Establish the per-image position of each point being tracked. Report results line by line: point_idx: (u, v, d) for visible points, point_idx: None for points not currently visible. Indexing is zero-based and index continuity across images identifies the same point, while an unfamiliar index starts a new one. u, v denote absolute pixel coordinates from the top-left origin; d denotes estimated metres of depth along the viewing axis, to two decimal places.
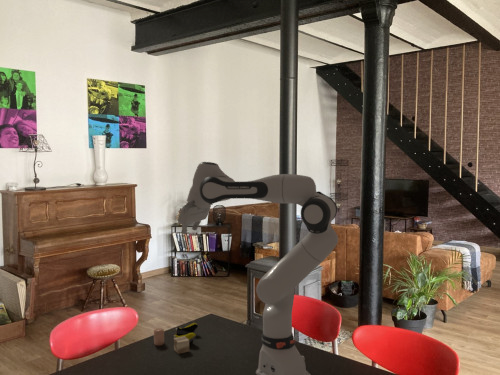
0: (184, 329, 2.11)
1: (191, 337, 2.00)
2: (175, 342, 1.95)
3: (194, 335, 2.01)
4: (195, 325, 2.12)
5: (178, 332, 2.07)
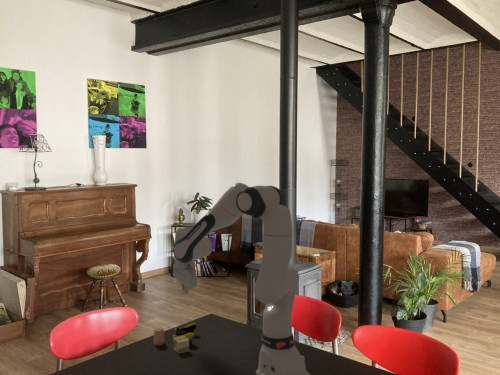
0: (183, 329, 2.11)
1: (190, 337, 2.00)
2: (175, 342, 1.95)
3: (193, 335, 2.01)
4: (194, 325, 2.12)
5: (177, 332, 2.07)
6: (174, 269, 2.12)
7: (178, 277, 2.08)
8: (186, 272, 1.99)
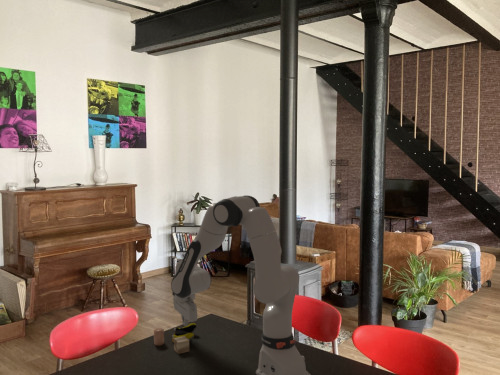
0: (183, 329, 2.11)
1: (189, 337, 2.00)
2: (175, 342, 1.95)
3: (192, 335, 2.01)
4: (194, 325, 2.12)
5: (176, 332, 2.07)
6: (174, 300, 2.13)
7: (178, 309, 2.09)
8: (186, 305, 2.00)
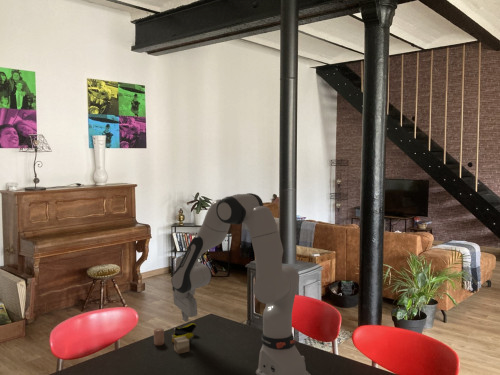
0: (182, 329, 2.11)
1: (189, 337, 2.00)
2: (175, 342, 1.95)
3: (192, 335, 2.01)
4: (193, 325, 2.12)
5: (176, 332, 2.07)
6: (174, 296, 2.13)
7: (178, 304, 2.09)
8: (186, 301, 2.00)
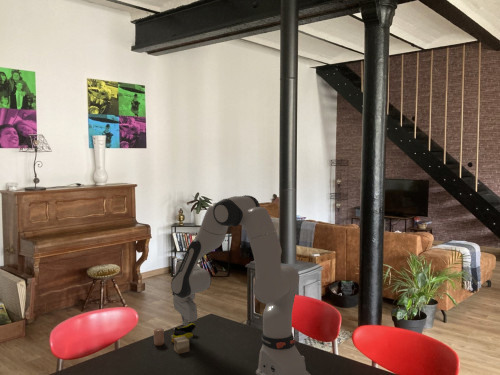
0: (182, 329, 2.12)
1: (188, 337, 2.00)
2: (175, 342, 1.95)
3: (191, 335, 2.01)
4: (193, 325, 2.12)
5: (176, 332, 2.07)
6: (174, 300, 2.13)
7: (178, 309, 2.09)
8: (186, 305, 2.00)
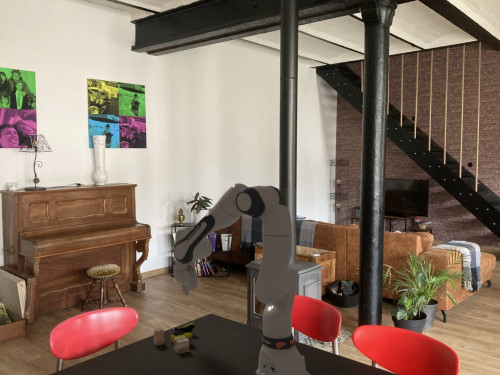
0: (181, 329, 2.12)
1: (188, 337, 2.00)
2: (175, 342, 1.95)
3: (191, 335, 2.01)
4: (192, 325, 2.12)
5: (175, 332, 2.07)
6: (175, 270, 2.12)
7: (179, 278, 2.08)
8: (186, 273, 1.99)
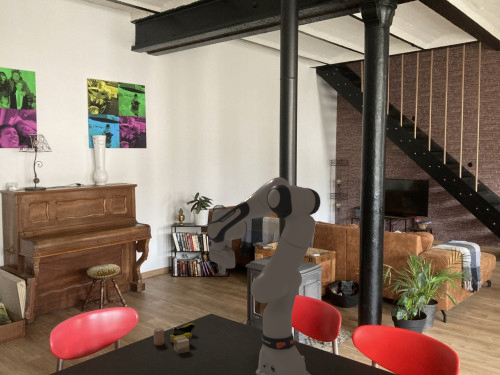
0: (181, 329, 2.12)
1: (187, 337, 2.00)
2: (175, 342, 1.95)
3: (190, 335, 2.01)
4: (192, 325, 2.12)
5: (175, 332, 2.07)
6: (210, 251, 2.15)
7: (215, 259, 2.11)
8: (224, 253, 2.02)
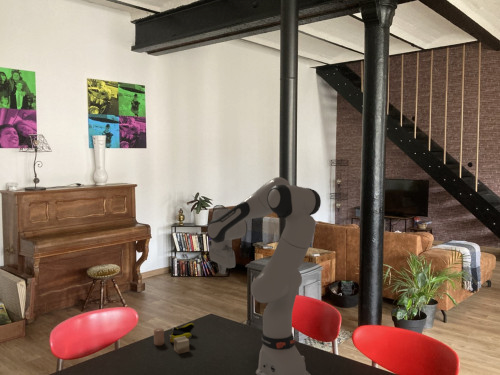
0: (180, 329, 2.12)
1: (187, 337, 2.00)
2: (175, 342, 1.95)
3: (190, 335, 2.01)
4: (191, 325, 2.12)
5: (174, 332, 2.07)
6: (210, 251, 2.15)
7: (215, 258, 2.11)
8: (224, 252, 2.02)
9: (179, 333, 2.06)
